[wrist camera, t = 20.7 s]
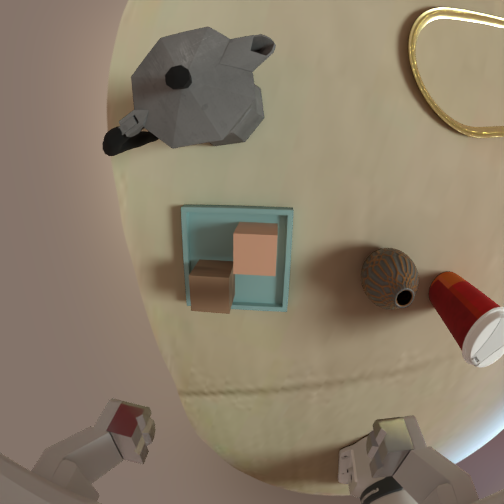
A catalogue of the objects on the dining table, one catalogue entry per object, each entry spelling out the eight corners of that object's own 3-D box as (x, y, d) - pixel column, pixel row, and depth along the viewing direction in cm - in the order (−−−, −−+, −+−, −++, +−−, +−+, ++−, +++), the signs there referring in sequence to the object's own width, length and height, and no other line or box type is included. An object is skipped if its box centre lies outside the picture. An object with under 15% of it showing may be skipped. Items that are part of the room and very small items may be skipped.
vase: (413, 268, 37) (441, 298, 29) (374, 300, 39) (394, 337, 31) (386, 230, 36) (414, 254, 28) (345, 265, 38) (361, 297, 30)
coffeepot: (255, 49, 30) (234, -26, 13) (296, 115, 33) (313, 86, 16) (145, 116, 34) (50, 105, 17) (181, 180, 36) (105, 212, 19)
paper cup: (437, 321, 40) (478, 380, 26) (412, 291, 38) (457, 350, 25) (473, 286, 37) (524, 335, 24) (451, 252, 36) (509, 298, 23)
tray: (286, 306, 40) (286, 311, 39) (189, 300, 41) (186, 305, 40) (292, 207, 36) (293, 210, 35) (184, 204, 37) (181, 207, 36)
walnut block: (235, 293, 40) (229, 313, 35) (200, 291, 40) (191, 310, 35) (235, 261, 38) (228, 277, 34) (199, 259, 39) (188, 275, 34)
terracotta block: (277, 223, 36) (277, 235, 32) (275, 259, 38) (275, 276, 33) (239, 221, 37) (233, 233, 32) (238, 257, 38) (233, 273, 33)
